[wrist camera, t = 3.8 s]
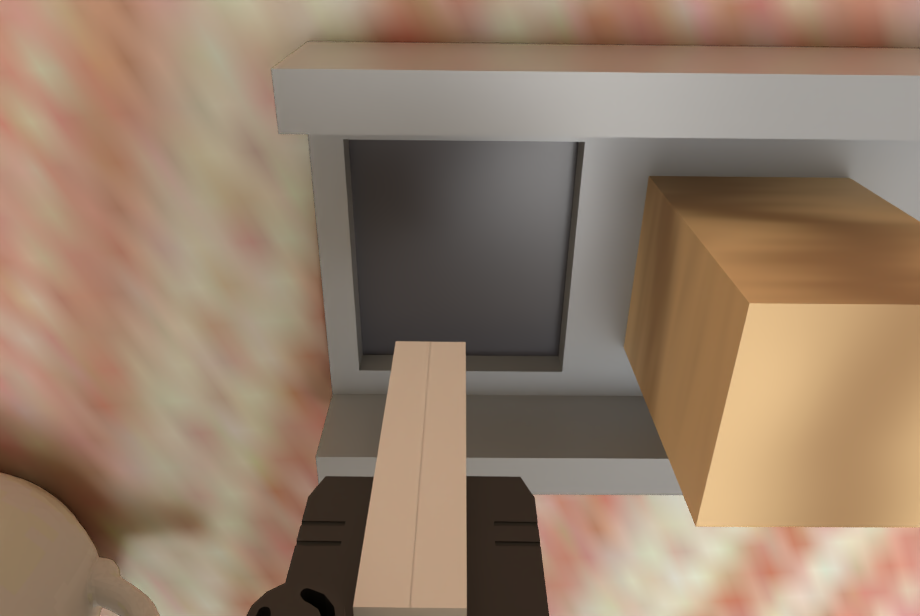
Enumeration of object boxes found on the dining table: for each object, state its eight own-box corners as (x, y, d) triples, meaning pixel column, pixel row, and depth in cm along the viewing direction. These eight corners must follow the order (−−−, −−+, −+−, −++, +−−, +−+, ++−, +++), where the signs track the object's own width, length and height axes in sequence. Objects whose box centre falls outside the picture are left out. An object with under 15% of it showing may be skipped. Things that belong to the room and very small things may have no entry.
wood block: (623, 347, 23) (695, 526, 16) (648, 175, 20) (749, 303, 13) (800, 348, 23) (947, 527, 16) (849, 177, 21) (1054, 305, 14)
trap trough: (340, 408, 26) (319, 493, 22) (307, 41, 20) (271, 68, 16) (868, 410, 26) (941, 496, 22) (1000, 49, 20) (1134, 78, 16)
